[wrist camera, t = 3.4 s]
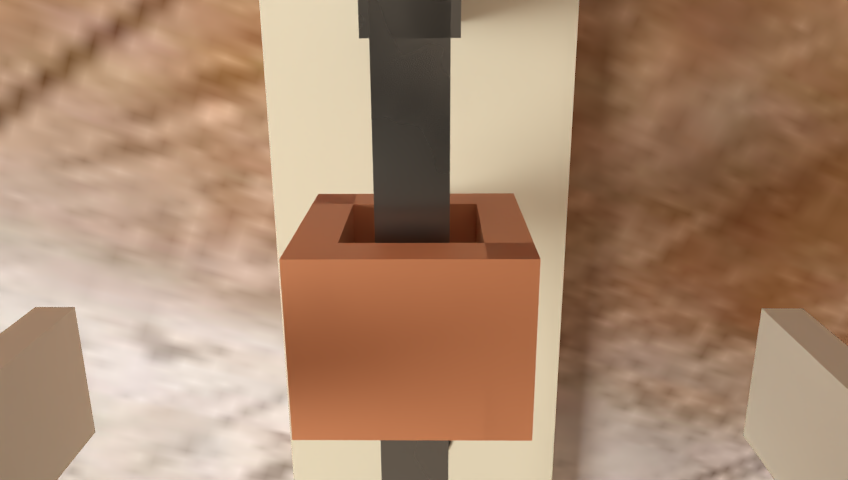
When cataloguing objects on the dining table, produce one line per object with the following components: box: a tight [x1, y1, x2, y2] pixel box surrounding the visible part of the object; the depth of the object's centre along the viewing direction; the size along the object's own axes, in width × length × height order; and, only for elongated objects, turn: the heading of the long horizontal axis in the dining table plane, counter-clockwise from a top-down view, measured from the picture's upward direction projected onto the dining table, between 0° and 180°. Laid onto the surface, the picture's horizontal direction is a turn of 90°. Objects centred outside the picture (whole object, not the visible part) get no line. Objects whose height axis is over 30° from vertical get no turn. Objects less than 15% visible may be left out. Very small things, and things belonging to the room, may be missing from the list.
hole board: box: [259, 0, 579, 480], centre depth 26 cm, size 27×10×2 cm, turn 0°
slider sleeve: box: [279, 193, 541, 441], centre depth 20 cm, size 4×5×10 cm
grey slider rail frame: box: [358, 0, 461, 480], centre depth 22 cm, size 24×2×9 cm, turn 0°
